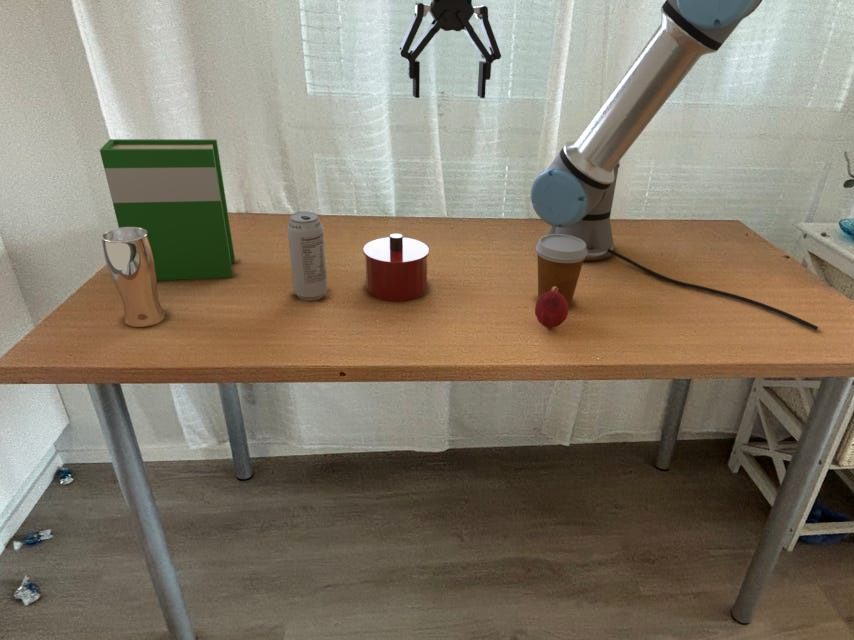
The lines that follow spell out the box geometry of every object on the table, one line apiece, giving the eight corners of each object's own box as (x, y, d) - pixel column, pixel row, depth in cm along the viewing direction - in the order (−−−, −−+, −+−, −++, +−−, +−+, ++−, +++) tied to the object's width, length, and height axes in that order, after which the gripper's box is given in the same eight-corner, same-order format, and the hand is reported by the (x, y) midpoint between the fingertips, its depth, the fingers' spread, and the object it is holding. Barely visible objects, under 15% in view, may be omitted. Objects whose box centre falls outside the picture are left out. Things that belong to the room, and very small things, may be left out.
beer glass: (139, 333, 104) (116, 245, 96) (113, 320, 107) (89, 234, 99) (176, 317, 109) (158, 233, 102) (151, 305, 112) (131, 223, 104)
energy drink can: (316, 284, 123) (309, 208, 115) (334, 295, 119) (328, 218, 112) (288, 293, 119) (279, 215, 111) (305, 305, 116) (297, 225, 108)
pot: (419, 273, 130) (419, 238, 126) (432, 298, 121) (433, 261, 117) (362, 277, 127) (361, 242, 123) (372, 303, 118) (370, 265, 114)
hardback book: (235, 261, 130) (216, 139, 117) (232, 277, 124) (212, 149, 111) (139, 265, 126) (109, 139, 113) (132, 281, 120) (99, 150, 107)
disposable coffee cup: (546, 317, 117) (554, 255, 111) (520, 295, 124) (526, 236, 118) (589, 308, 121) (599, 248, 115) (561, 287, 128) (569, 230, 122)
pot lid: (420, 240, 127) (421, 222, 125) (436, 265, 117) (436, 246, 115) (358, 244, 123) (357, 225, 122) (369, 270, 114) (368, 250, 112)
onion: (564, 338, 111) (570, 297, 106) (530, 333, 112) (535, 292, 107) (567, 323, 116) (572, 282, 111) (535, 318, 116) (540, 278, 112)
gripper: (509, -23, 125) (501, 93, 136) (381, -31, 118) (384, 92, 129) (523, -21, 119) (513, 100, 130) (389, -29, 112) (391, 100, 123)
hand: (449, 96), depth 130 cm, fingers open, 13 cm apart
